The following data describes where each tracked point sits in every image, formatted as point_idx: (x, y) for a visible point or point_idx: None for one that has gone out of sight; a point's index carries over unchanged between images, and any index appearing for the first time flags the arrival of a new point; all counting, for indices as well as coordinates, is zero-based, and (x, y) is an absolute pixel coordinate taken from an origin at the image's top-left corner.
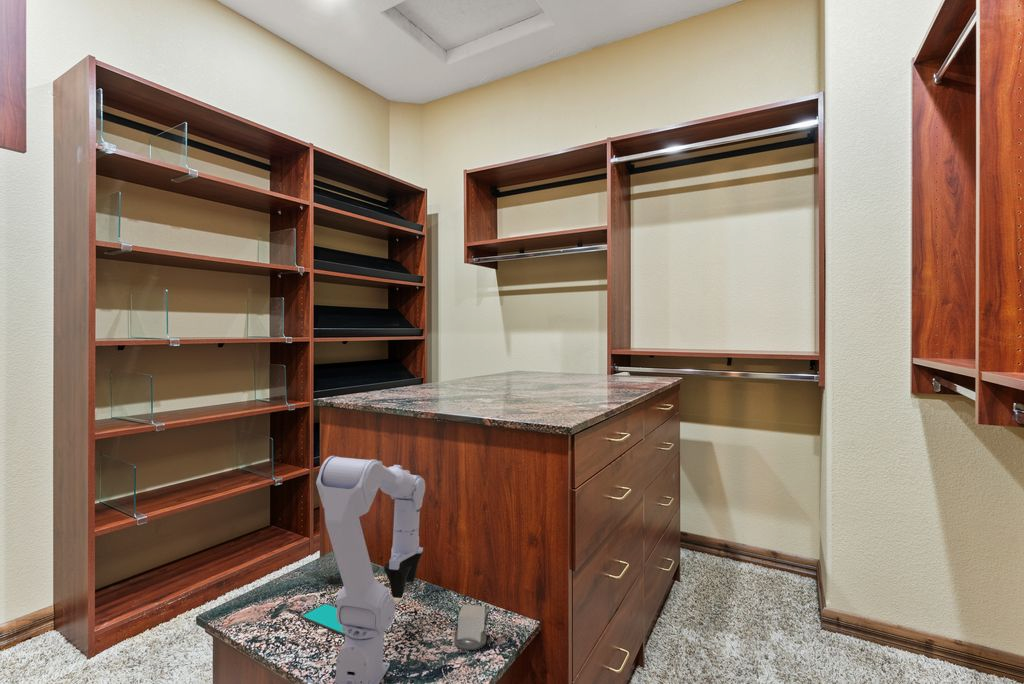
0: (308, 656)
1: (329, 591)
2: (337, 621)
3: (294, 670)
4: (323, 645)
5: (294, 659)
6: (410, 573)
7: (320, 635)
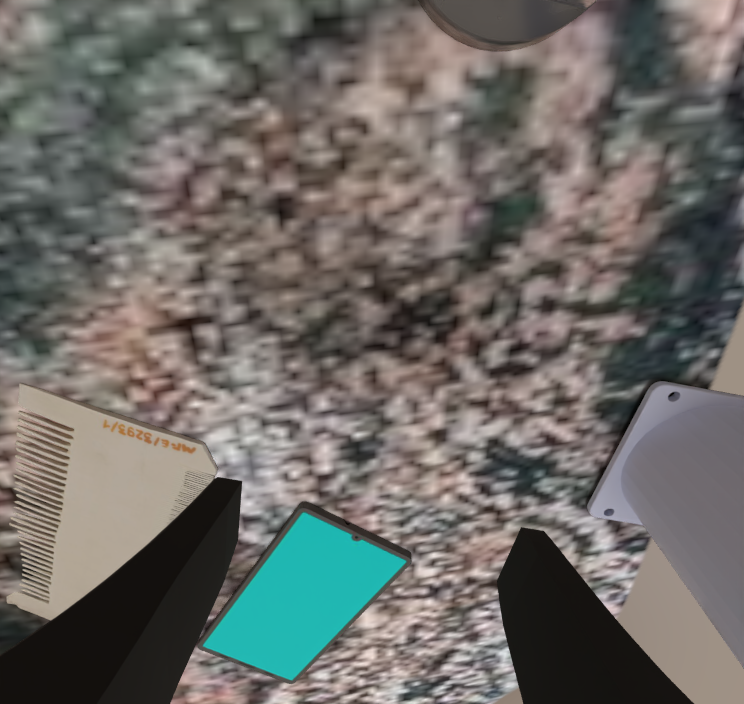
0: None
1: None
2: (320, 595)
3: None
4: (462, 597)
5: None
6: (207, 569)
7: (400, 615)
